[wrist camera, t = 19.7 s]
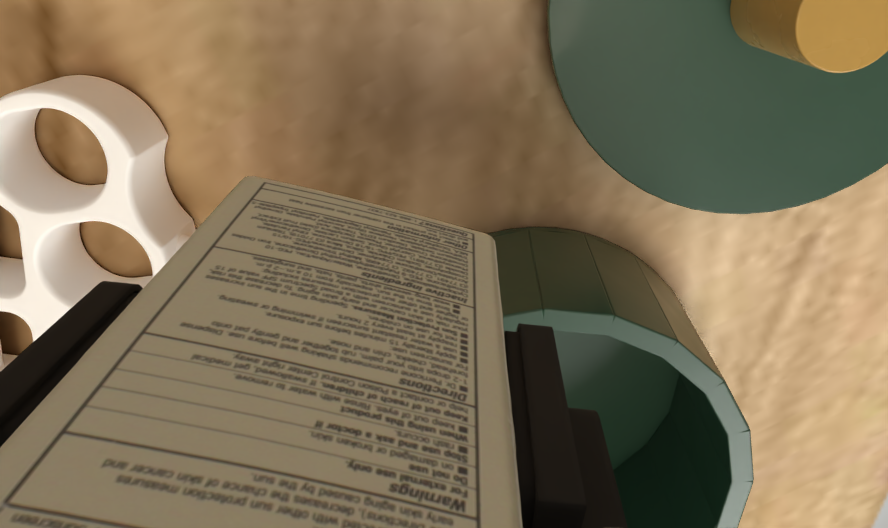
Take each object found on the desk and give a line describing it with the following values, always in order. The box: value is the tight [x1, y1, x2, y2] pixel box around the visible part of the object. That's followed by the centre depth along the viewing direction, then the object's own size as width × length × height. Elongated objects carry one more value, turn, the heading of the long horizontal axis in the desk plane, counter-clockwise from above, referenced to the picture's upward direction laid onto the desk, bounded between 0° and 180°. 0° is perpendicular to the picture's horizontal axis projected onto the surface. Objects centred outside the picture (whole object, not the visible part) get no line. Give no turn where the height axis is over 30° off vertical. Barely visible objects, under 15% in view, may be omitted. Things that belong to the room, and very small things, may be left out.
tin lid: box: [547, 0, 888, 214], centre depth 22 cm, size 16×16×7 cm
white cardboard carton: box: [0, 176, 523, 528], centre depth 10 cm, size 5×4×10 cm
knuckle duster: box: [0, 75, 196, 372], centre depth 29 cm, size 3×18×15 cm
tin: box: [488, 227, 754, 528], centre depth 29 cm, size 15×15×8 cm
